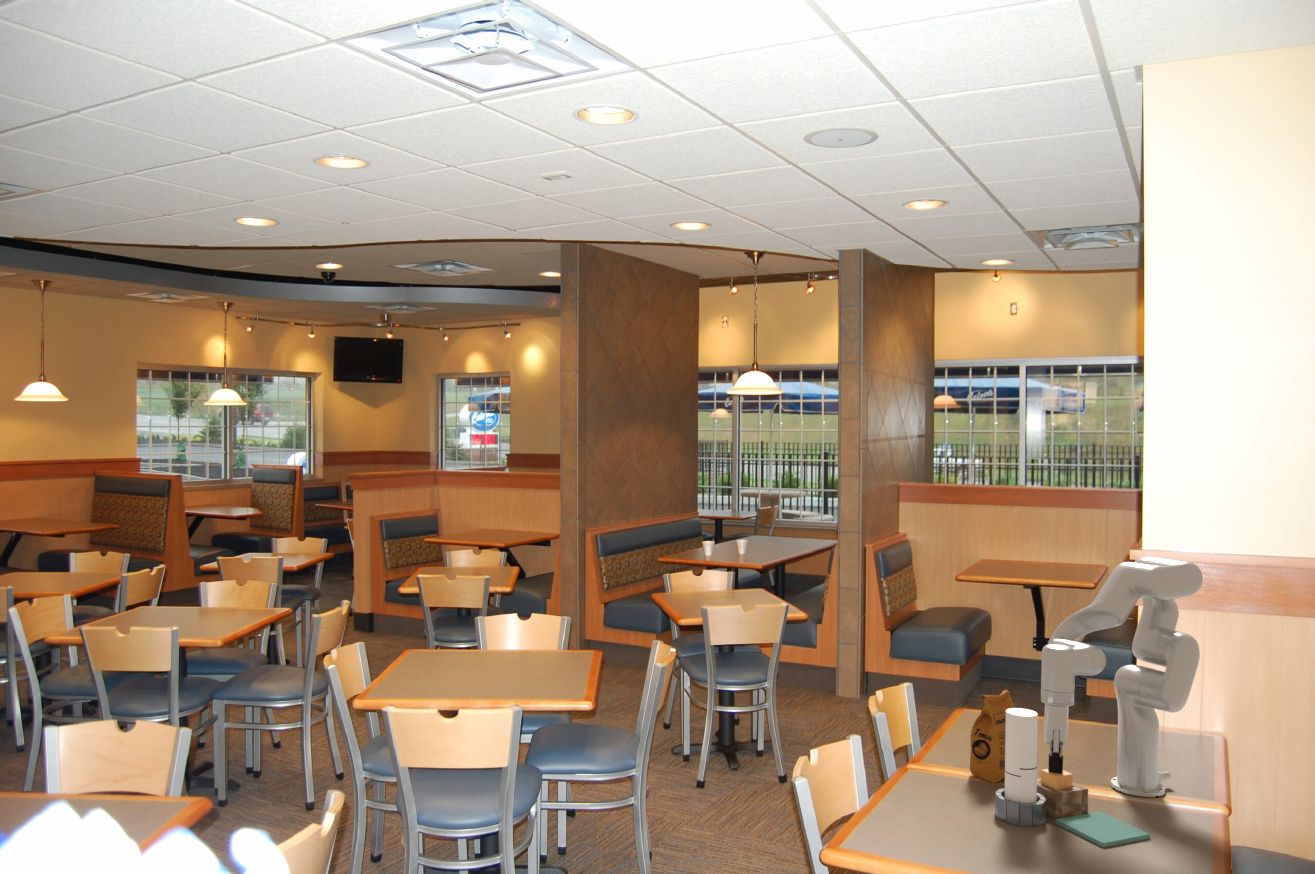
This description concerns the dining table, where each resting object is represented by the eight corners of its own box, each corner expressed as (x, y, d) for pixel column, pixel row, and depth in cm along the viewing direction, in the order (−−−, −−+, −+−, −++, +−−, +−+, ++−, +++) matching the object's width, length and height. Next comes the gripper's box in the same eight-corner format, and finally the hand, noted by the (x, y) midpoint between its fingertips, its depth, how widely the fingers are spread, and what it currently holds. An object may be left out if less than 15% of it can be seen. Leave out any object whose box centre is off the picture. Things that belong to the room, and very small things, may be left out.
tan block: (1056, 789, 240) (1056, 767, 240) (1072, 796, 236) (1072, 773, 236) (1040, 792, 239) (1041, 769, 239) (1056, 799, 234) (1056, 776, 234)
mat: (1100, 815, 233) (1100, 811, 233) (1150, 838, 220) (1150, 833, 220) (1055, 823, 228) (1055, 819, 228) (1103, 847, 215) (1103, 842, 215)
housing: (1056, 798, 244) (1056, 774, 244) (1087, 813, 234) (1088, 788, 234) (1025, 804, 240) (1025, 779, 240) (1055, 819, 231) (1056, 793, 231)
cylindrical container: (1038, 824, 228) (1040, 717, 227) (1006, 821, 229) (1008, 715, 229) (1033, 812, 235) (1034, 708, 234) (1002, 810, 236) (1003, 706, 236)
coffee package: (963, 773, 261) (964, 691, 261) (993, 765, 268) (995, 685, 268) (994, 785, 253) (995, 700, 253) (1024, 776, 259) (1026, 694, 259)
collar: (1021, 805, 239) (1022, 785, 239) (1055, 822, 229) (1055, 801, 229) (985, 811, 235) (986, 790, 235) (1018, 829, 225) (1018, 807, 225)
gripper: (1041, 687, 245) (1039, 760, 245) (1039, 701, 232) (1038, 778, 232) (1074, 691, 242) (1072, 765, 242) (1074, 705, 229) (1072, 784, 229)
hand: (1055, 771), depth 237 cm, fingers closed
